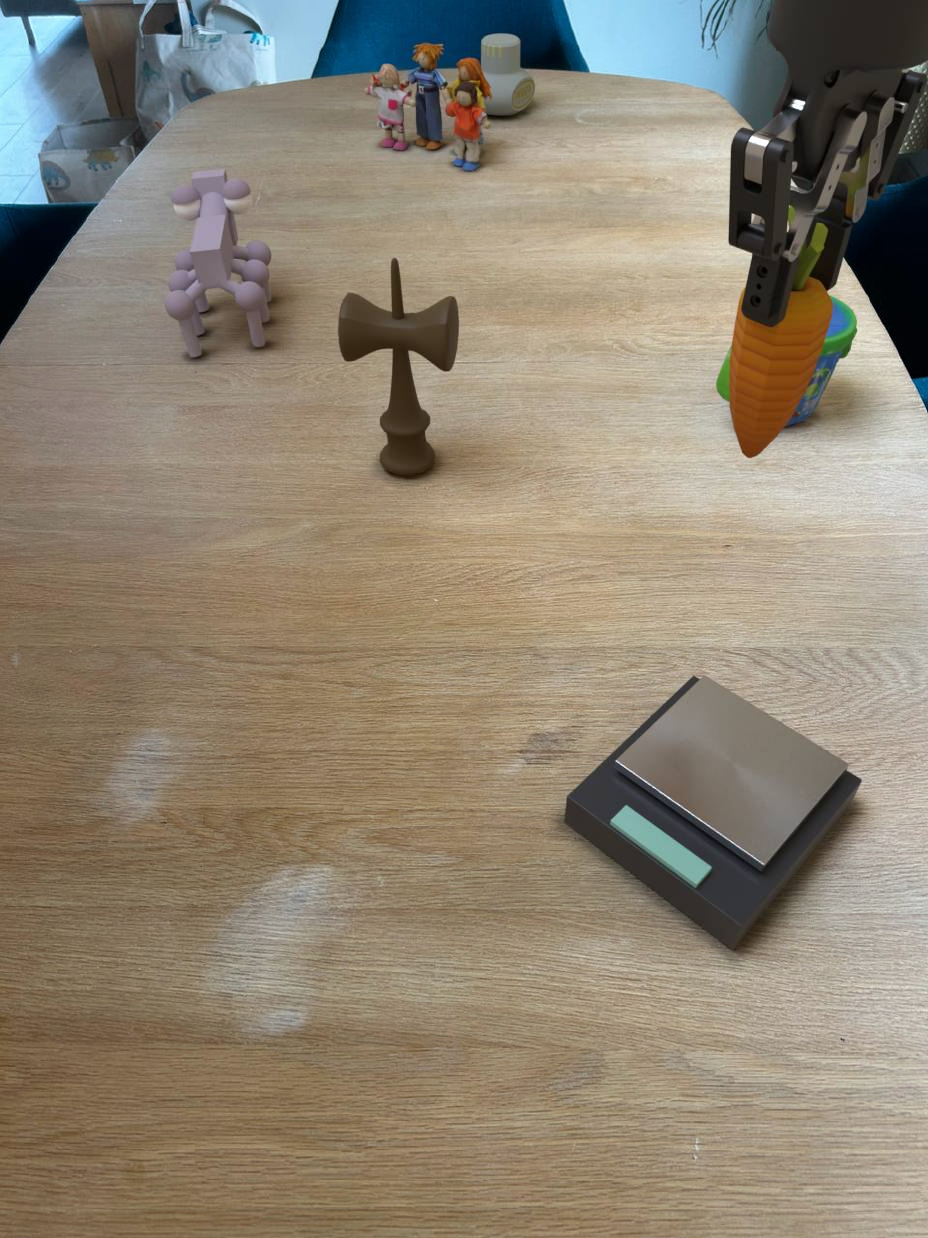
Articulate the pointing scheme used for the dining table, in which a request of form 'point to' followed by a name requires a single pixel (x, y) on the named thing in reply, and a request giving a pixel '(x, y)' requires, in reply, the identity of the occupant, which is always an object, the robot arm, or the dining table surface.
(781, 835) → the scale pan
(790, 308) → the carrot
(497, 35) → the air freshener
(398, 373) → the kendama
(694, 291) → the dining table surface
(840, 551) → the dining table surface
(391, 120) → the doll family
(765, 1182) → the dining table surface
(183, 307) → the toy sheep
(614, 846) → the scale
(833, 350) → the snack cup
